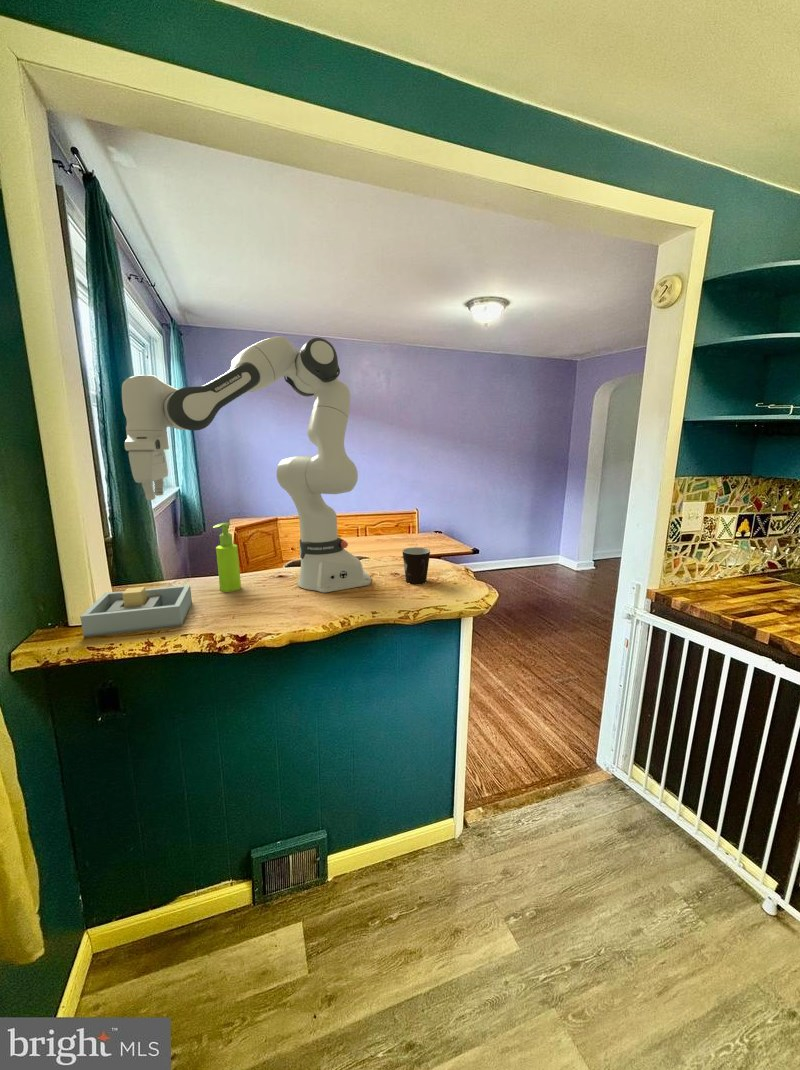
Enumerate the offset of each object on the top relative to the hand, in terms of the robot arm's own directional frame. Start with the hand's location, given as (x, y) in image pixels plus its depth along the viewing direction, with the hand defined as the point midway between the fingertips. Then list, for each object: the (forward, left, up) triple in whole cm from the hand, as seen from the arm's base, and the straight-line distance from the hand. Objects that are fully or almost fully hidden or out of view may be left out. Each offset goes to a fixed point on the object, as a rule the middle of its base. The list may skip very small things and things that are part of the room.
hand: (155, 497), depth 110 cm
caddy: (+4, +9, -29) cm, 31 cm away
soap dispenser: (-15, -7, -29) cm, 34 cm away
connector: (+6, +6, -28) cm, 30 cm away
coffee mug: (-70, +5, -29) cm, 76 cm away
